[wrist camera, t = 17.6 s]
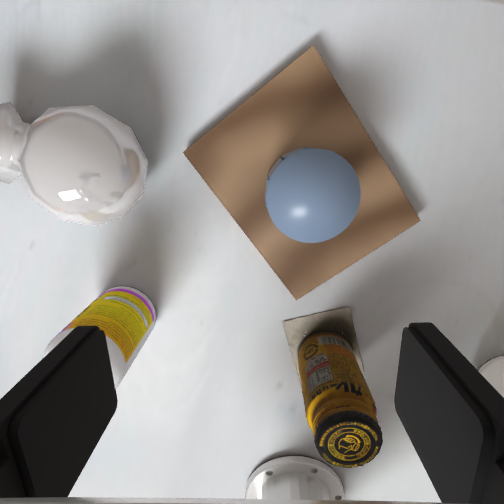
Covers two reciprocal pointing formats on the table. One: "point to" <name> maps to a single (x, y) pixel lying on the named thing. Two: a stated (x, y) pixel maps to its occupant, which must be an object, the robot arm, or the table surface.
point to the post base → (288, 139)
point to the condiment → (334, 387)
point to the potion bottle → (74, 162)
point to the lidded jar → (494, 373)
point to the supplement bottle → (117, 325)
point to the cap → (312, 194)
